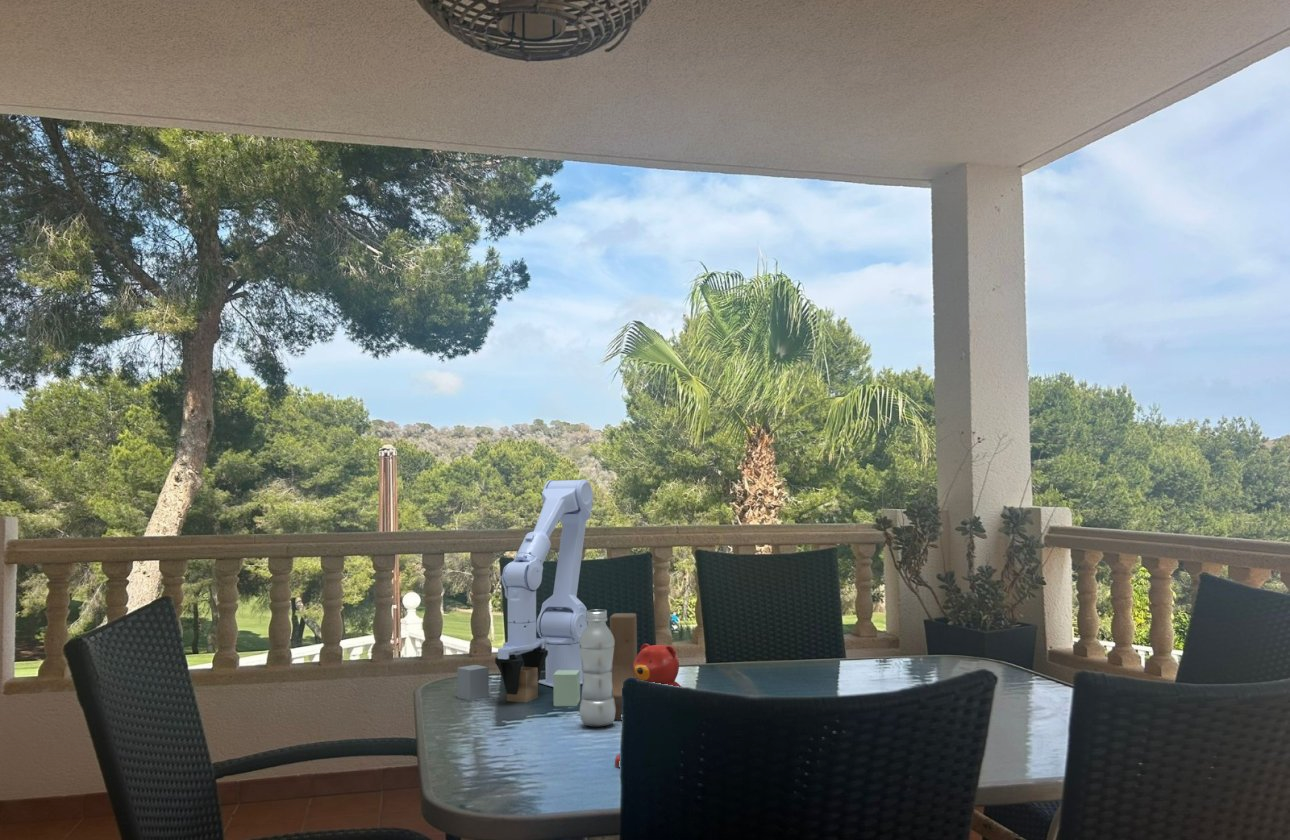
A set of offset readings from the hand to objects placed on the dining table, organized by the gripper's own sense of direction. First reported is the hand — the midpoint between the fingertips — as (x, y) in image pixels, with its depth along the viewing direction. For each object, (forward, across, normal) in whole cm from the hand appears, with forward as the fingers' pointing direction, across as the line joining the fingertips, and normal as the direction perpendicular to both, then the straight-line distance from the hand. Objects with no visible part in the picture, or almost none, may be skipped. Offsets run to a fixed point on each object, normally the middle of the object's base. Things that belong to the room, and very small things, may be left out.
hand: (522, 690), depth 187 cm
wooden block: (+2, +5, +25) cm, 25 cm away
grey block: (+2, +2, -10) cm, 11 cm away
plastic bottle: (+2, +14, +24) cm, 28 cm away
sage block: (+2, 0, +10) cm, 10 cm away
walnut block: (+2, 0, 0) cm, 2 cm away
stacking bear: (+2, +32, +44) cm, 54 cm away
